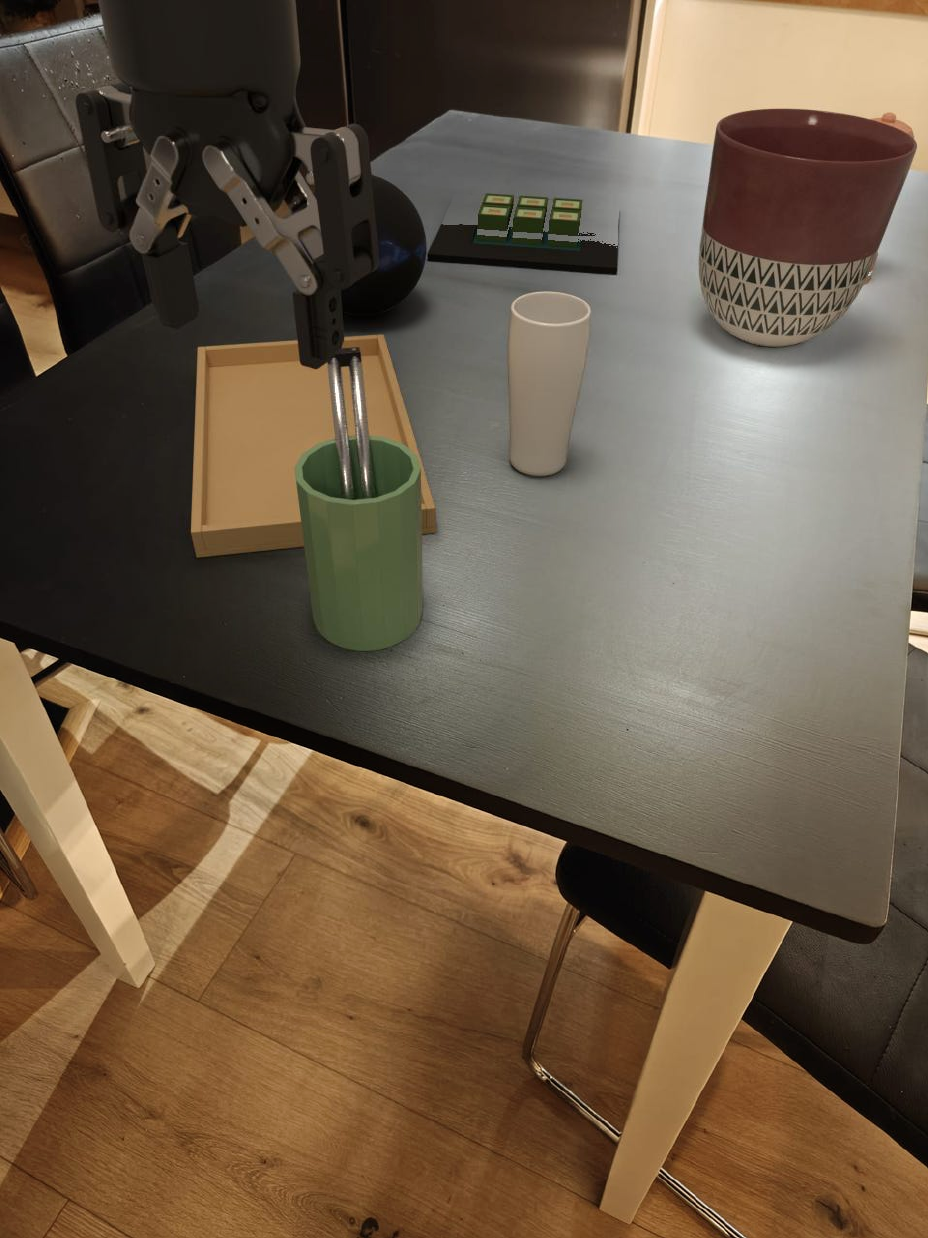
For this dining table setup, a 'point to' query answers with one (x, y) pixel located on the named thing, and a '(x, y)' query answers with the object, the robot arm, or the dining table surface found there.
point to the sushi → (523, 252)
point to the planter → (795, 218)
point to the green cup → (363, 545)
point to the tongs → (354, 362)
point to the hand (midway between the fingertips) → (248, 341)
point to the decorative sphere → (389, 254)
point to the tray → (276, 438)
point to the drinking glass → (545, 377)
